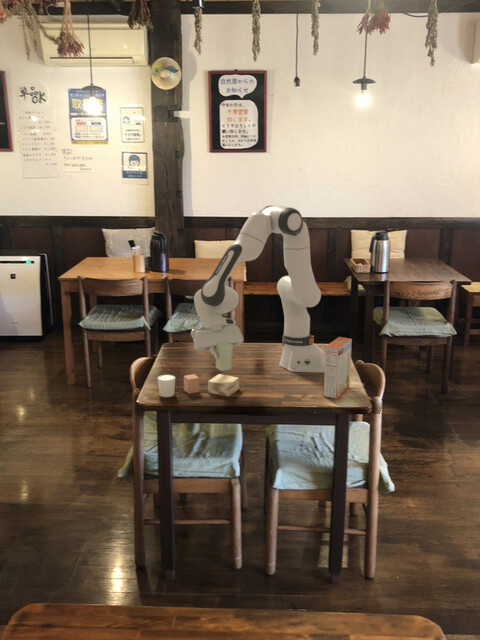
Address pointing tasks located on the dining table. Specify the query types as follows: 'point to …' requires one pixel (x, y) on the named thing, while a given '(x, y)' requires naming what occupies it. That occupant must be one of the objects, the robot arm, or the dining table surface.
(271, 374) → the dining table surface
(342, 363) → the cracker box
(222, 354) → the sage block
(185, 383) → the terracotta block
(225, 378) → the beech base
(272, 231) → the robot arm
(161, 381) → the shot glass
